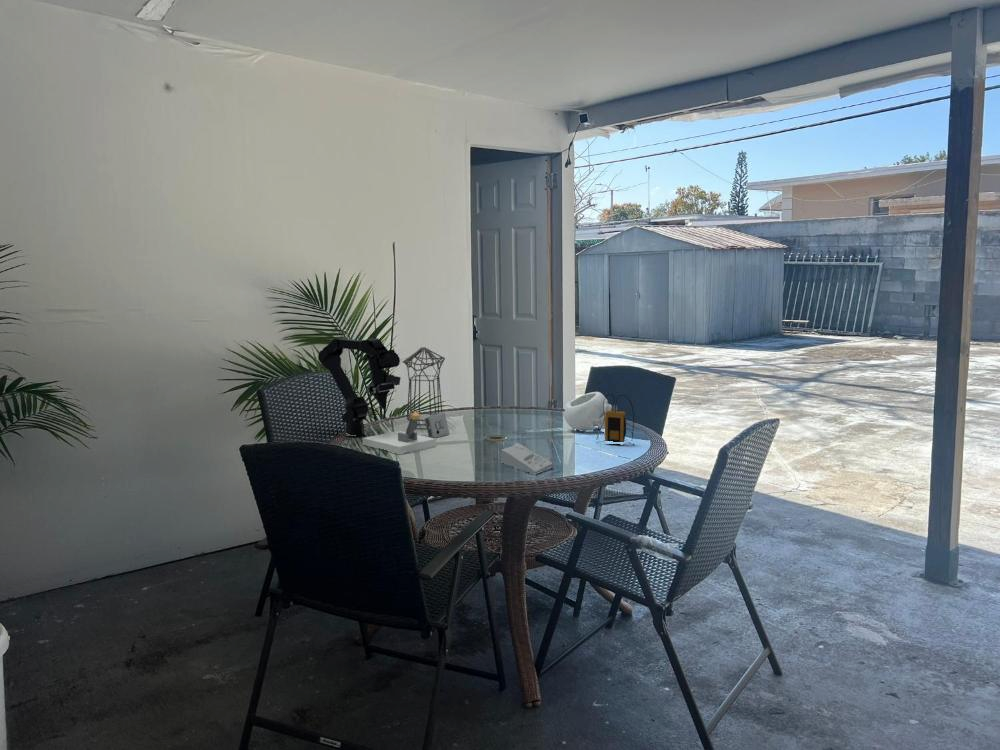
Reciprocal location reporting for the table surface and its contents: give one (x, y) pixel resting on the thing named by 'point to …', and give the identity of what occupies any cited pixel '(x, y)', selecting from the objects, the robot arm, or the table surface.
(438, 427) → the electrical switch
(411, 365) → the geometric lantern
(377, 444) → the thin white panel
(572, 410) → the skull planter
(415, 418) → the handle
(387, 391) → the robot arm
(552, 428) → the table surface
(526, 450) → the ramp
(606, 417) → the multimeter
